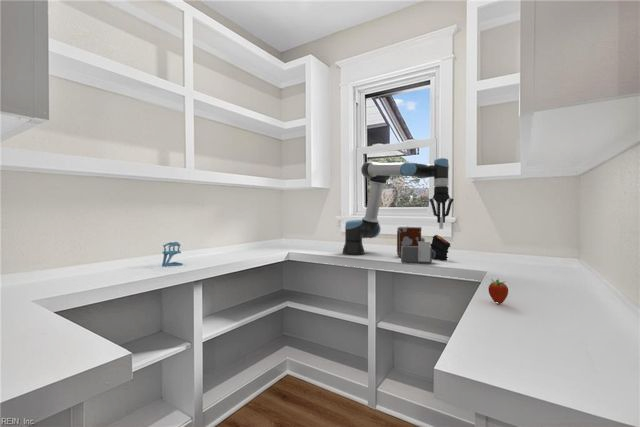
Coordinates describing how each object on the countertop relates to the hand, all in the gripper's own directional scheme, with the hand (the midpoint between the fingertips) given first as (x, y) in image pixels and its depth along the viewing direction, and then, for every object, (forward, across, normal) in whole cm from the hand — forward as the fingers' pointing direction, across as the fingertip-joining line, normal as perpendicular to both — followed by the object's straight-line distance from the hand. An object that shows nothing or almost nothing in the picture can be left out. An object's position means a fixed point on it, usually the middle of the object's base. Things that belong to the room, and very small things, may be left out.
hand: (441, 228), depth 173 cm
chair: (+20, -140, -37) cm, 146 cm away
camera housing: (+20, -12, +5) cm, 23 cm away
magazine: (+20, +3, +20) cm, 28 cm away
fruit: (+21, +1, -77) cm, 80 cm away
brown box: (+20, -12, +29) cm, 37 cm away
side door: (+19, -9, 0) cm, 21 cm away
